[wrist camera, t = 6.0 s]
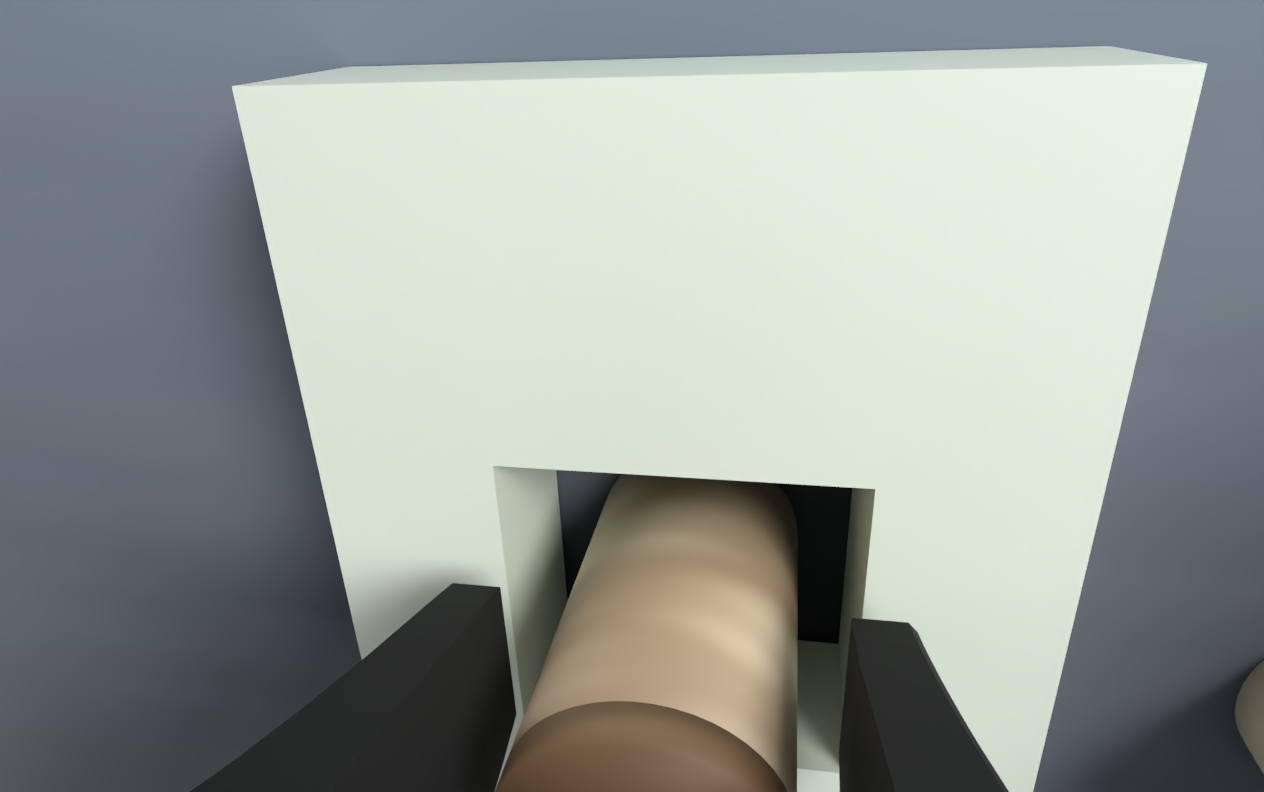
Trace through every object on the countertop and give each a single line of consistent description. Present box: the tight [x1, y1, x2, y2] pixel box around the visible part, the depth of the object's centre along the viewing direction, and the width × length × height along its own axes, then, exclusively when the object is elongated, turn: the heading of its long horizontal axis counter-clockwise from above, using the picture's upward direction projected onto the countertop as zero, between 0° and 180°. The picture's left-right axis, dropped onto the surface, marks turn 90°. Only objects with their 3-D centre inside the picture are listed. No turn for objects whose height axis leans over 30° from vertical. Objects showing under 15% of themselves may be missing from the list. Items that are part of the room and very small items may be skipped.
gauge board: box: [232, 46, 1207, 792], centre depth 12 cm, size 9×13×2 cm
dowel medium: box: [495, 474, 798, 792], centre depth 10 cm, size 3×3×6 cm
